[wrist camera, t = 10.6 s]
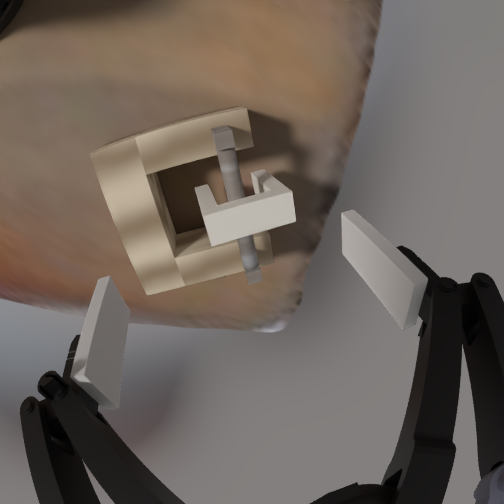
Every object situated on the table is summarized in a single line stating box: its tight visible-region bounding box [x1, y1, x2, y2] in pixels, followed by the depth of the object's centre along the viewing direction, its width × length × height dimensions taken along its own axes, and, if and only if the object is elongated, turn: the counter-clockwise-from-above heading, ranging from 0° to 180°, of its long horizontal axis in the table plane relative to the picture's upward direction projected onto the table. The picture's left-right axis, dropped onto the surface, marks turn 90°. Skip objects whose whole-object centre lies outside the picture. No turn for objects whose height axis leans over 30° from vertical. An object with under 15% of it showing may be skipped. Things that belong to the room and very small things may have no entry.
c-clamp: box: [90, 106, 275, 295], centre depth 30 cm, size 18×16×10 cm
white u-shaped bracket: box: [195, 169, 296, 246], centre depth 29 cm, size 3×8×8 cm, turn 101°
